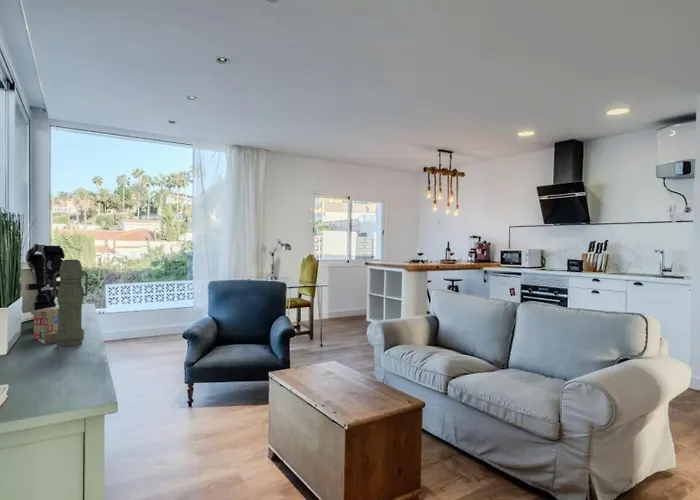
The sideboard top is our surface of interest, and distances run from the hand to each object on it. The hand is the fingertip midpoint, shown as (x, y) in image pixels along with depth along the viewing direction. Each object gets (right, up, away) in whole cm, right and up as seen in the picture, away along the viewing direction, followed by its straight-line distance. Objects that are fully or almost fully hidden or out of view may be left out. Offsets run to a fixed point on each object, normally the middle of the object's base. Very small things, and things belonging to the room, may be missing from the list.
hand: (51, 304), depth 193 cm
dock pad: (+15, -13, -15) cm, 25 cm away
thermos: (+25, -14, -24) cm, 37 cm away
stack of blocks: (+8, -13, -7) cm, 17 cm away
